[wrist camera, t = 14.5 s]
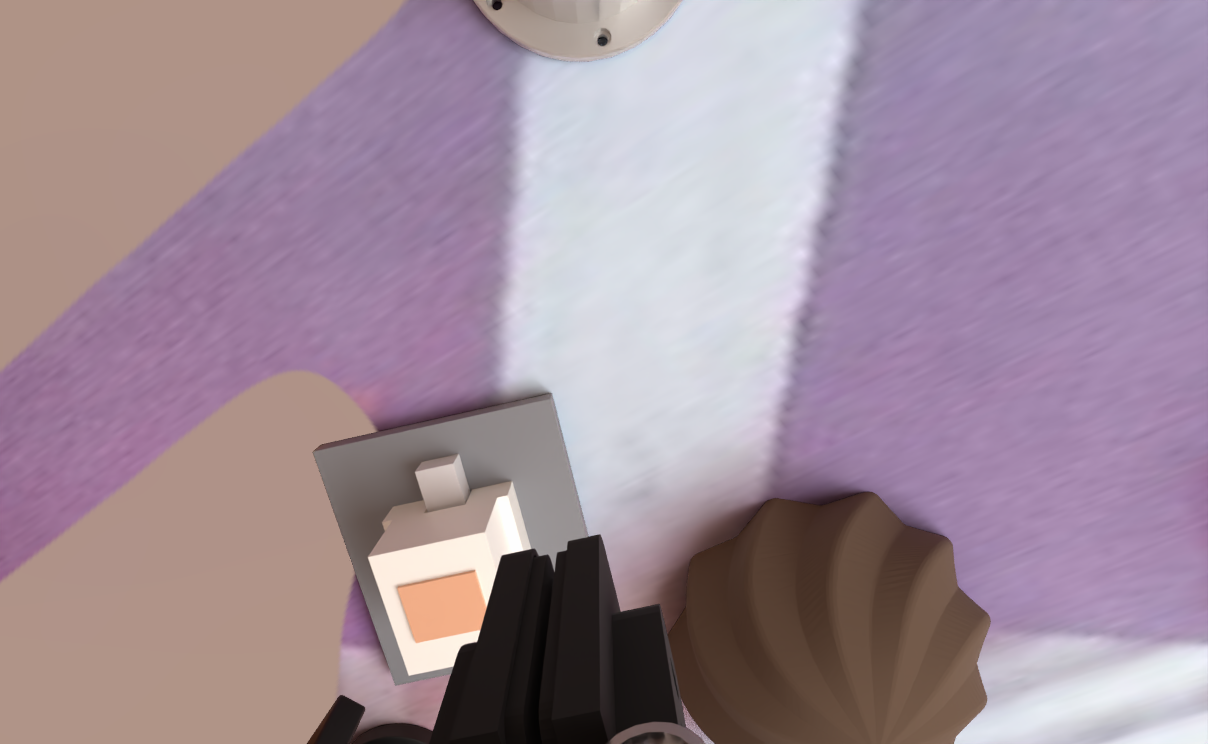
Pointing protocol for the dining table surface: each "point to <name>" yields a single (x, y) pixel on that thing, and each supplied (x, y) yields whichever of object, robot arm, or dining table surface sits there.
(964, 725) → the decorative dome
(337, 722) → the light fixture
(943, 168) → the dining table surface
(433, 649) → the block
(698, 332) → the dining table surface
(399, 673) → the rail board
